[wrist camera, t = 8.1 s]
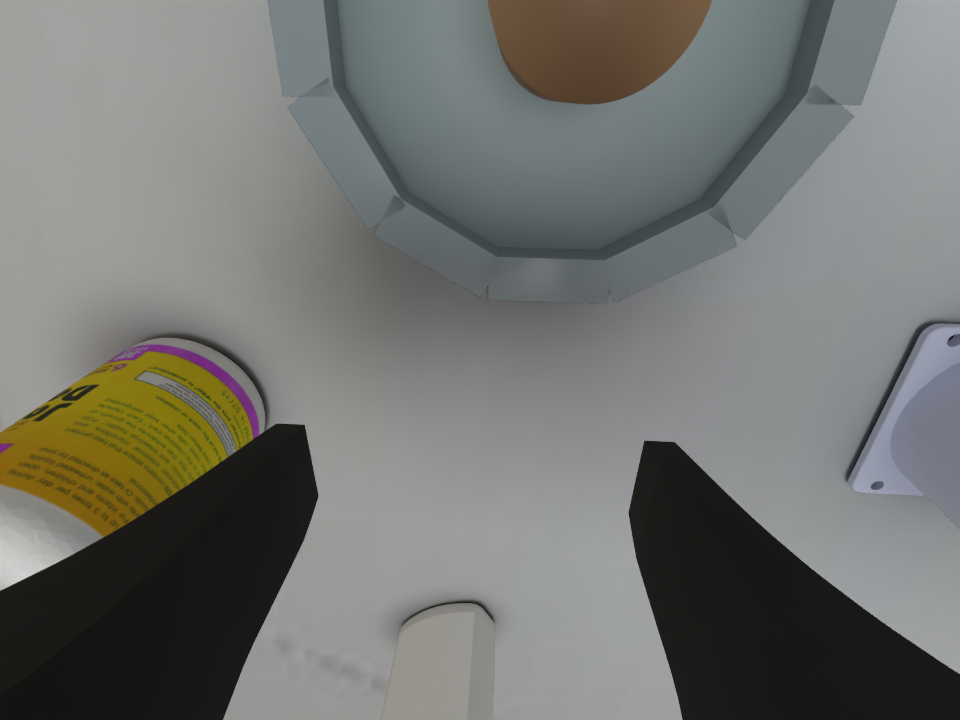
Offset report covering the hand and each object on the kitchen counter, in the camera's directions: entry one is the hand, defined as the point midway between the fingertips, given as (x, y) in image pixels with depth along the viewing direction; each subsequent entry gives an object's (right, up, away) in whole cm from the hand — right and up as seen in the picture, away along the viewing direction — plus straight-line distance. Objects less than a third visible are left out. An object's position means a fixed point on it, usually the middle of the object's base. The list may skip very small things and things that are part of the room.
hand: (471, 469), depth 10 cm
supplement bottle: (-12, +1, +11) cm, 17 cm away
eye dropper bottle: (-2, -13, +18) cm, 22 cm away
